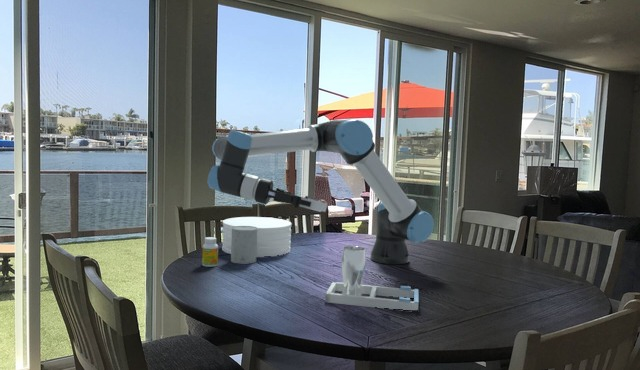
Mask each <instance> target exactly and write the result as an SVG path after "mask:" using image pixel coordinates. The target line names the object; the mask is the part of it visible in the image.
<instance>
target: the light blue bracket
mask: <svg viewBox="0 0 640 370" xmlns="http://www.w3.org/2000/svg"><path fill="white" fill-rule="evenodd" d="M411 287H412V286H409V285H407V286H406V285H400V290H408V291H411V290H412V288H411ZM413 290H414V299H413V301H414V303H418V305H419V303H420V302H419V300H420V299H419V289H418V288H414V289H413ZM398 300H399V302H409V303H410V301H411V299H410V298H404V297H399V298H398Z"/></svg>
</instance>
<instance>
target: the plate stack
mask: <svg viewBox="0 0 640 370" xmlns="http://www.w3.org/2000/svg"><path fill="white" fill-rule="evenodd" d="M222 225H223V226H222V241H221V242H222V243H221V244H222V245H221V250H222V251H223V252H224V253H226V254H230V255H231V243H232V227H235V226H252V227H257V228H258V229H257V254H256V258H265V257H264V256H271V257H278V256H277V255H279V256H283V254H284V255H287V254H289V253H291V244H292V243H291V240H292V235H291V234H292V229H291V227H292V225H293V224H292V222H291V221H290V220H286V219H281V218H276V217H265V216H264V217H262V216H240V217H231V218H226V219H224V220H223V221H222ZM288 252H289V253H288ZM286 253H287V254H286Z"/></svg>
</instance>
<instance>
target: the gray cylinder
mask: <svg viewBox="0 0 640 370" xmlns="http://www.w3.org/2000/svg"><path fill="white" fill-rule="evenodd" d="M257 229H258V228H257V227H252V226H235V227H232V243H231V254H230V262H232V263H234V264H240V265H241V264H242V265H245V264H246V265H248V264H249V263H250V264H254V263H257V257H256V254H257Z"/></svg>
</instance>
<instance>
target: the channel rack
mask: <svg viewBox="0 0 640 370" xmlns="http://www.w3.org/2000/svg"><path fill="white" fill-rule="evenodd" d="M400 288H401V287H400ZM400 288H399V287H390V286H378V285H371V284H370V285H368V284H361V293H362V296H356V295H346V294H342V291H343V282H339V281H332V283H331V284H330V286H329V287H328V289H327V291H326V292H325V296H324V297H325V298H324V299H325V300H324V303H329V304H330V303H331V304H339V305H346V306H347V305H348V306H355V307H358V306H359V307H367V308H375V307H377V308H376V309H384V308H389V309H388V310H393V309H403V310H418V311H419V304H418V303H414V300H413V301H412V300H410V303H409V302H399V299H391V298H383V297H389V296H393V297H392V298H398V297H407V298H414V289H411V291H408V290H400ZM336 292H340V293H336ZM364 295H365V296H364ZM366 295H369V296H366ZM377 296H378V297H377ZM379 296H380V297H379ZM403 310H402V311H403Z"/></svg>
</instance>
